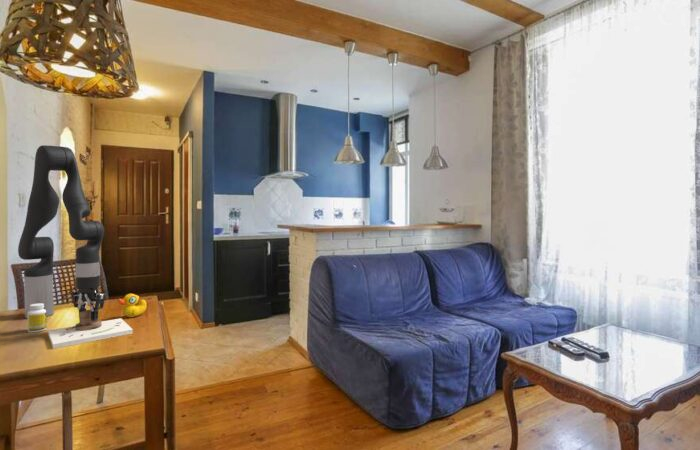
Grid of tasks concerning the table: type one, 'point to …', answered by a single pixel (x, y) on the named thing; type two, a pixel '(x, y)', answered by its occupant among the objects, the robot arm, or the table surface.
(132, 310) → the duckling
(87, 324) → the knob
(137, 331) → the table surface
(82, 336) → the dial board
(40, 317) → the supplement bottle
